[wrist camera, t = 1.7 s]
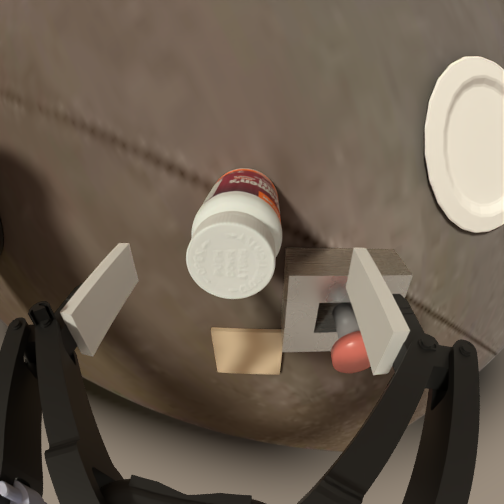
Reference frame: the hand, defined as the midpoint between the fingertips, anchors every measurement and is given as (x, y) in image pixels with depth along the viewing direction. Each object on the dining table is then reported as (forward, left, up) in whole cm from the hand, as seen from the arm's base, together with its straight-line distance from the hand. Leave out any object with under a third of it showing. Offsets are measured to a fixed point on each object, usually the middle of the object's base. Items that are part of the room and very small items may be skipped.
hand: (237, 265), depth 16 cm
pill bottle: (0, 0, -12) cm, 12 cm away
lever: (+10, -10, -7) cm, 16 cm away
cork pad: (0, -21, -11) cm, 24 cm away
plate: (+27, +9, -12) cm, 30 cm away
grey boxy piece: (+10, -10, -11) cm, 18 cm away
